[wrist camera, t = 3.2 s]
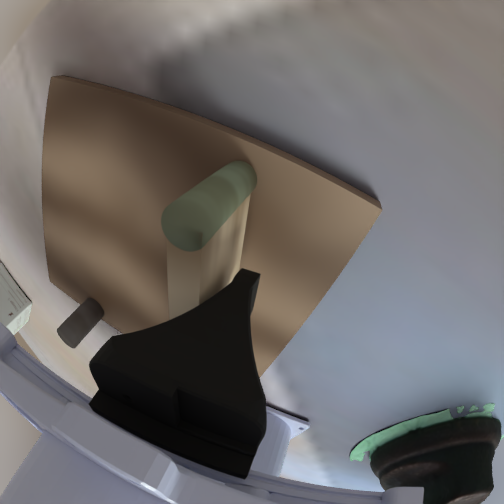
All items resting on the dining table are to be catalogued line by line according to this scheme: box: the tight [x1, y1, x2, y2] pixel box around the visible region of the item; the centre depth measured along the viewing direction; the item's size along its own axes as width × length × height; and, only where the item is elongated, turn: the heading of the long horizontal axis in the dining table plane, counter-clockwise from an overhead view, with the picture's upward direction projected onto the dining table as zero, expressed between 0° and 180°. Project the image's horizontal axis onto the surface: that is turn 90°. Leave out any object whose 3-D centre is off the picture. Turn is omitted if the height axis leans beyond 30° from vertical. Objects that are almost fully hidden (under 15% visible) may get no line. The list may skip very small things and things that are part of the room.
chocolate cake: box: [350, 403, 504, 504], centre depth 18 cm, size 20×20×9 cm
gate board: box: [42, 75, 382, 378], centre depth 16 cm, size 18×20×5 cm
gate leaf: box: [161, 161, 257, 320], centre depth 14 cm, size 16×2×5 cm, turn 171°
